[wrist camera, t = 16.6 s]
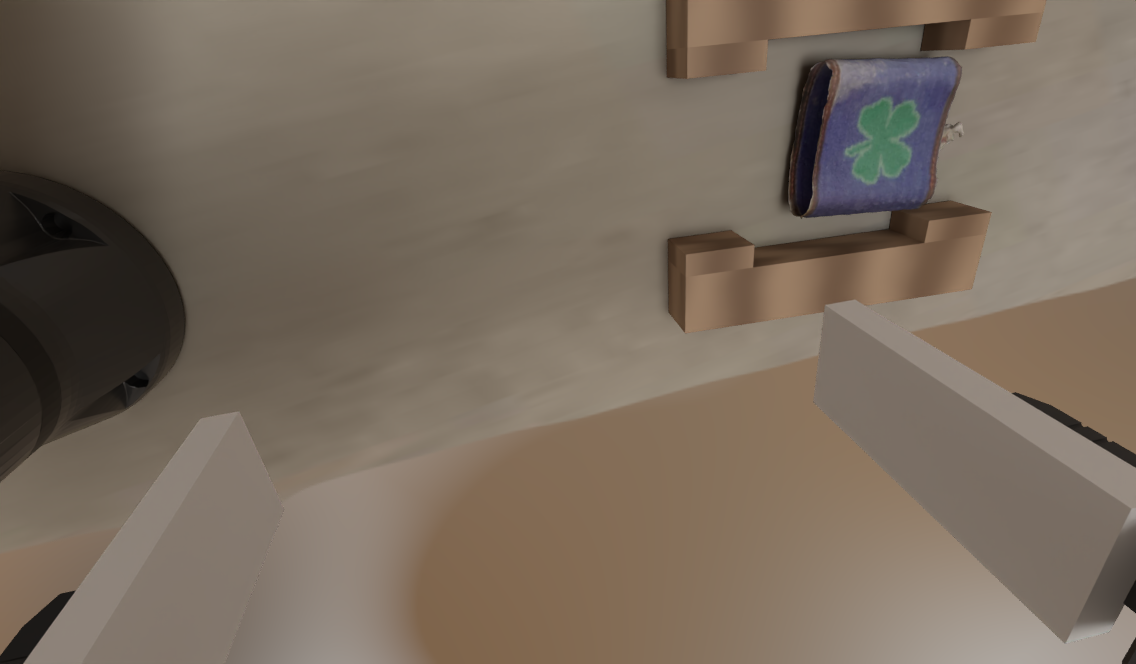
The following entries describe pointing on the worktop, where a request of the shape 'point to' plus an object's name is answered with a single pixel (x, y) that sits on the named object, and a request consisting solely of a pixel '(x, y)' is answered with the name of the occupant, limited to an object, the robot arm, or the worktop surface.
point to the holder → (843, 263)
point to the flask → (871, 135)
